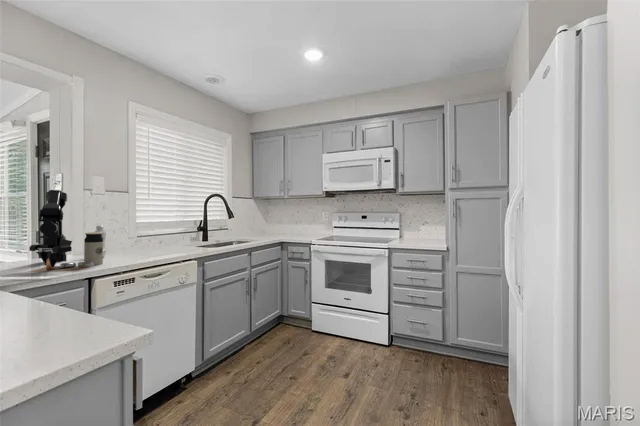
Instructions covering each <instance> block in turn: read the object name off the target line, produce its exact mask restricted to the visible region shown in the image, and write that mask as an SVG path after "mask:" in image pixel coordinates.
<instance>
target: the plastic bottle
mask: <svg viewBox="0 0 640 426" xmlns="http://www.w3.org/2000/svg"><path fill="white" fill-rule="evenodd" d="M94 232H102V238H103V258H104V257H106V254H107V251H106V250H107V249H106V244H105V243H106V236H107V234H106V232H105V230H104V225H96V228H95V231H94Z"/></svg>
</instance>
